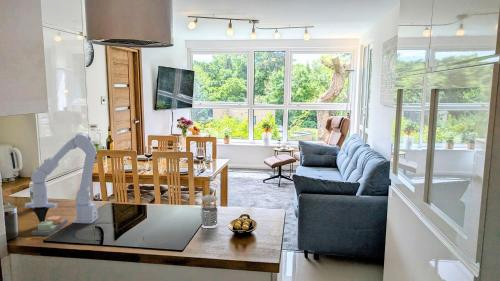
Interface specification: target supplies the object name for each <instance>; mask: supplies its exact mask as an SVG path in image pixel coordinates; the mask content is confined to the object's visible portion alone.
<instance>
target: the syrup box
mask: <svg viewBox="0 0 500 281" xmlns="http://www.w3.org/2000/svg"><path fill="white" fill-rule="evenodd" d="M28 185H29V188H28V189H29V197H30V203H32V202H34V197H33V181H30V182H29V184H28ZM30 208H31V209H34V208H35V207H30Z"/></svg>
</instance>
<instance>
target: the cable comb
mask: <svg viewBox="0 0 500 281" xmlns="http://www.w3.org/2000/svg"><path fill="white" fill-rule="evenodd" d="M67 223H68V219H65V218H63V219H62V218H61V221H59V224H58V225H53V226H52V227H50V230H49V231H38V230H32V231H31V235H32V236H51V235H52V234H53V233H55V232H56V231H57V230H59V229H61V228H62V227H64V226H65V225H66V224H67Z"/></svg>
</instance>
